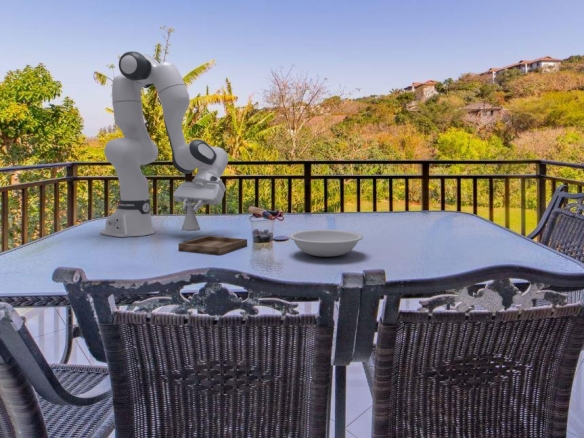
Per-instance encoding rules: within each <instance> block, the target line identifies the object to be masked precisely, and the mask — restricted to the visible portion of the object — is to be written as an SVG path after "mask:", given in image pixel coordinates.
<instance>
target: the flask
mask: <svg viewBox="0 0 584 438" xmlns="http://www.w3.org/2000/svg"><path fill="white" fill-rule="evenodd" d="M195 205H196V203H188V204H186V206H187V211H186V215H185V217H184V221H183V222H182V223H183V224H182V227H181V231H184V232H185V231H186V232H196V231H200V230H201V227H200V224H199V223H198V219H197V216H196V212H193V210H192V208H193V206H195Z"/></svg>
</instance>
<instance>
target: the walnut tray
mask: <svg viewBox="0 0 584 438" xmlns="http://www.w3.org/2000/svg"><path fill="white" fill-rule="evenodd" d="M246 247H248V239H247V238H235V237H226V236H225V237H224V236H215V235H214V236H213V235H207V236H202V237H198V238H194V239H190V240H186V241H182V242H179V243H178V251H179V252H186V253H196V254H204V253H207V254H206V255H213V254H215V256H222V255H226V254H229V253H231V252H234V251H237V250H240V249H243V248H246Z"/></svg>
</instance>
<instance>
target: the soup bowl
mask: <svg viewBox="0 0 584 438" xmlns="http://www.w3.org/2000/svg"><path fill="white" fill-rule="evenodd" d="M363 235H364V234H361V233H359V232H355V231H349V230H342V229H341V230H340V229H307V230H299V231H294V232H292V233H290V234H288V238H289V239H291V240H292V241H293V242H294V244H295V245H296V247H298V249H299V250H301V251H302V252H303V253H305V254H308V255H311V256H315V257H323V258H324V257H338V256H343V255H345V254H348V253H349V252H351V251H352V250H353V249H354V248H355V247H356V246H357V244H358V242H359V241H361V240H363V239H364V236H363Z"/></svg>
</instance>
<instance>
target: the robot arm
mask: <svg viewBox="0 0 584 438" xmlns="http://www.w3.org/2000/svg"><path fill="white" fill-rule="evenodd" d="M118 68H119V69H118V70H119V72H120V73H121V74H118V75H116V76H115V77H113V79H112V85H111V86H112V87H111V98H112V99H111V100H112V101H111V102H112V109H113V116H114V123H115V125H116V127H118V128H119V129H120V131H121V132H122V135H123V137H117V138H114V139H111V140H109V141H107V143H106V145H104V146H105V147H104V157H105V158H106V160H107V161H108V162H109V163H110V164H111V165H112V167H113V168H114V170H115V173H116V175H117V179H118V183H119V194H120V200H119V201H115V205H116V206H117V209H115V211H114V212H113V213H112V214H111V215H110V216H108V217H107V218H106V220H105V229H102V230H100V231H99V234H100V235H105V236H112V237H116V238H117V237H118V238H124V237H126V238H127V237H142V236H149V235H153V234H155V229H154V226H153V223H152V215H151V199H150V198H149V197H150V193H149V192H150V191H149V181H148V179H147V177H145V175H144V174H143V172H142V170H141V166H145V165H148V164H151V163H153V162H155V161H156V160H157V158H158V156H159V149H158V145H157V144H156V143H155V142H154V141H153V140H152V138H151V137H150V135H149V132H148V129H147V127H146V124H145V119H144V111H143V102H142V94H141V93H142V89H143V88H145V89H148V88H150V87H152V86H154V87H155V90H156V92H157V94H158V98H159V100H160V104H161V108H162V114H163V115H162V116H163V123H164V127H165V131H166V134H167V137H168V141H169V145H170V148H171V160H172V161H171V162H172V165H173V167H174V168H175V170H177V171H178V172H180V173H182V174H187V175H188V174H191V173H193V172H194V171H195V170H196V169H197V173H196V174H195V176H194V178H193V179H192V181H189V180H186V181H185V182H182V183H180V184H179V185H178V187H177V188H176V189H175V191H173V194H172V196H173V198H174V199H175V201H176V202H180V203H183V205H182V210H183V211H186V212H187V206H186V204H188V203H193V204H195V205H194V206H193V208H192V210H193V212H195V213H197V212H198V211H199V210H200V209H201V208H202V207H203V206H204V205H211V206H212V205H214V206H217V205H219V204H221V202H222V201H223V198H224V196H225V192H226V191H227V188H226V185H225V184H224V182H223V181H222V179H221V177H222V176H223V174H224V173H225V170H226V168H227V166H228V163H229V155H228V153H227V151H226V150H225V149H223V148H221V147H219V146H212V145H209V144H208V142H206V141H205V140H203V139H200V138H199V139H197V138H196V139H193V140H192V141H190V142H188V143H186V139H185V135H184V131H183V127H182V126H183V119H184V116H185V114H186V113H187V111H188V109H189V107H190V102H191V100H190V99H191V98H190V94H189V92H188V88H187V87H186V83H185V82H184V79H183V77H182V75H181V73H180V71H179V70H178V68H177V67H176V65H175V64H174V63H172V62H170V61H163V62H160V60H159V59H157V58H155V57H152V56H150V55H148V54H145V53H140V52H138V51H133V50H132V51H126V52H124V53H123V54H122V55H121V56H120V58H119V60H118Z"/></svg>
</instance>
